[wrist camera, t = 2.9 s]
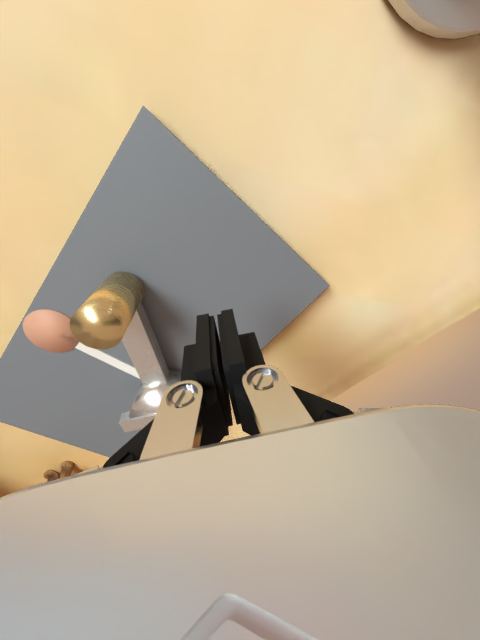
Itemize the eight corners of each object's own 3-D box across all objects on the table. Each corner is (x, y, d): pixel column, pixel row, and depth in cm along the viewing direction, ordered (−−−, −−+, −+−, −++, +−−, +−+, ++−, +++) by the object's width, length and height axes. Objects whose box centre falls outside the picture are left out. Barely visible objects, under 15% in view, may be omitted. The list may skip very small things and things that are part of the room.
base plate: (147, 110, 14) (142, 104, 13) (323, 279, 21) (330, 285, 20) (-20, 401, 23) (-31, 413, 22) (140, 456, 30) (137, 467, 29)
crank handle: (213, 420, 26) (215, 472, 21) (151, 432, 26) (139, 487, 21) (164, 263, 17) (149, 296, 13) (69, 280, 17) (21, 320, 13)
